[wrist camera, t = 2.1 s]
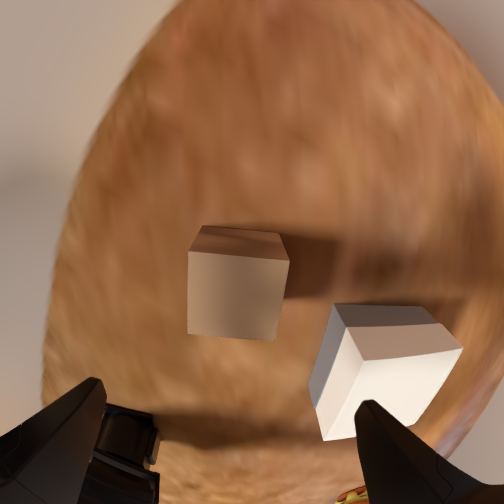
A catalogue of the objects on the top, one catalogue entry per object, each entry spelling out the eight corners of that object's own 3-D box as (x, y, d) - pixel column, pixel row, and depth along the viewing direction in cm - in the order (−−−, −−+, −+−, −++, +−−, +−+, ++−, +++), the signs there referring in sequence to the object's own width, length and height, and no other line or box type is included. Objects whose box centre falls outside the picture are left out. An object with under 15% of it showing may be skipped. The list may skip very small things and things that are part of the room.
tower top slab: (315, 409, 20) (323, 441, 17) (346, 326, 17) (363, 360, 14) (400, 398, 21) (414, 424, 18) (441, 323, 18) (463, 348, 15)
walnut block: (199, 292, 20) (187, 333, 15) (202, 225, 18) (188, 251, 13) (268, 298, 20) (275, 341, 15) (278, 232, 18) (289, 260, 14)
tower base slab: (307, 381, 24) (313, 409, 20) (332, 301, 21) (345, 327, 17) (386, 377, 24) (399, 399, 21) (420, 304, 21) (440, 325, 18)
